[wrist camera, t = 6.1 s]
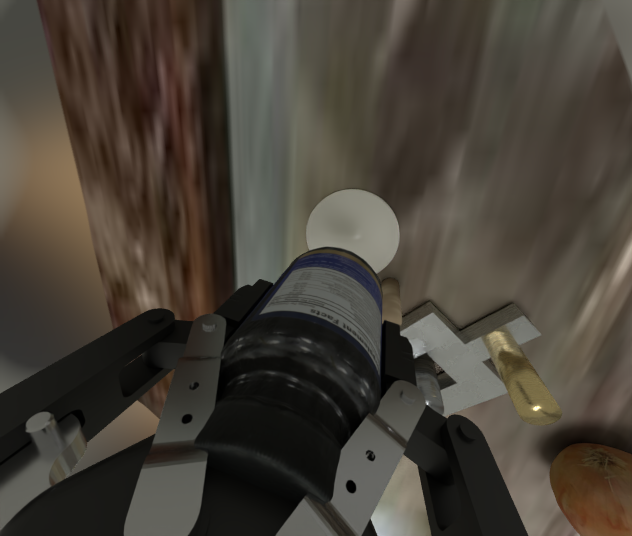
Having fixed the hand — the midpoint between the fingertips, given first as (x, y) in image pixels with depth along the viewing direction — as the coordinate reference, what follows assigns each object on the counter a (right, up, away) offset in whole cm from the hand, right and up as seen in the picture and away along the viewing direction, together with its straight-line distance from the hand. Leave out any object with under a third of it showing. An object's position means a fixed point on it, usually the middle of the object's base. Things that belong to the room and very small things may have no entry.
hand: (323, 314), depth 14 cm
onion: (+31, -19, +16) cm, 39 cm away
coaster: (+3, +6, +12) cm, 13 cm away
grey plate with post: (+13, -7, +15) cm, 21 cm away
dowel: (+7, +1, +13) cm, 15 cm away
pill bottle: (+1, +1, +3) cm, 3 cm away
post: (+12, -8, +16) cm, 22 cm away
